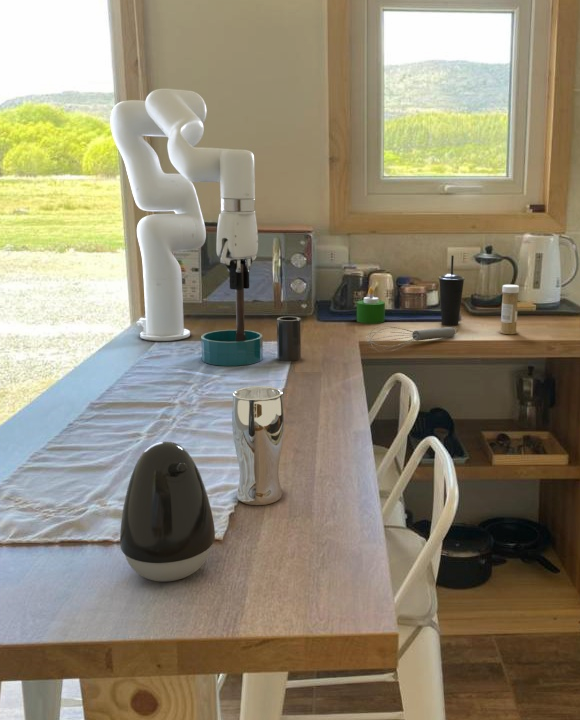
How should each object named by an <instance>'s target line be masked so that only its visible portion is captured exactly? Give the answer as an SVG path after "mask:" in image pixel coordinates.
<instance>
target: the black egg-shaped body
mask: <svg viewBox="0 0 580 720" xmlns="http://www.w3.org/2000/svg"><path fill="white" fill-rule="evenodd" d="M123 502H124V504H123V508H122V514H121V520H120V521H121V522H120V531H119V545H120V550H121V552H122V553H123V555H124V556H125V559H126V561H127V563H128V565H129V566H130V568H131V569H132V570H133V571H134V572H135V573H136V574H138V576H140V577H142V578H144V579H146V580H149V581H154V582H166V583H167V582H174V581H179V580H181V579H184V578H188V577H189V576H191V575H192V574H194V573H196V572H197V571H198V570H200V568H201V567H203V565H204V564H205V562H206V561H207V559H208V558H209V555H210V553H211V549H212V545H213V544H214V542H215V539H216V530H215V521H214V517H213V512H212V507H211V502H210V499H209V496H208V492H207V490H206V487H205V483H204V481H203V478H202V476H201V473H200V471H199V469H198V467H197V464H196V463H195V461H194V460H193V458H192V456H191V455H190V454H189V452H188V451H187V450H186V448H184V447H183V446H181V445H180V444H178V443H175V442H172V441H159V442H156V443H154V444H151V445H149V446H148V447H147V448H146V449H145V450H144V451H143V452H142V453H141V455H140V456H139V458H138V459H137V461H136V463H135V466H134V467H133V470H132V473H131V476H130V479H129V482H128V486H127V489H126V494H125V498H124V501H123Z"/></svg>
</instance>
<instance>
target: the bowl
mask: <svg viewBox="0 0 580 720" xmlns="http://www.w3.org/2000/svg"><path fill="white" fill-rule="evenodd" d="M244 330H245V333H244V334H246V341H239V342H236V333H237V329H223V330H214V331H209V332H206V333H203V334H202V335H201V336H200V342H201V343H200V346H201V361H202V362H203V363H205V364H209V365H212V366H213V365H214V366H220V367H221V366H222V367H223V366H224V367H238V366H246V365H247V366H248V365H252V364H256V363H259V362H262V360H263V359H264V344H263V339H264V338H263V333H260V332H258V331H254V330H246V329H244Z"/></svg>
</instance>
